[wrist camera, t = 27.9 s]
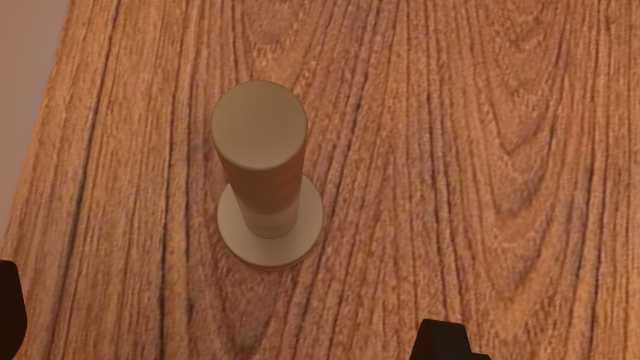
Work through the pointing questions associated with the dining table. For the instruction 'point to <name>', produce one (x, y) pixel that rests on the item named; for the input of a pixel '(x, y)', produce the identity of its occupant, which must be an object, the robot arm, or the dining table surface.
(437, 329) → the robot arm
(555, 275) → the dining table surface
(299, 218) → the peg on round base
